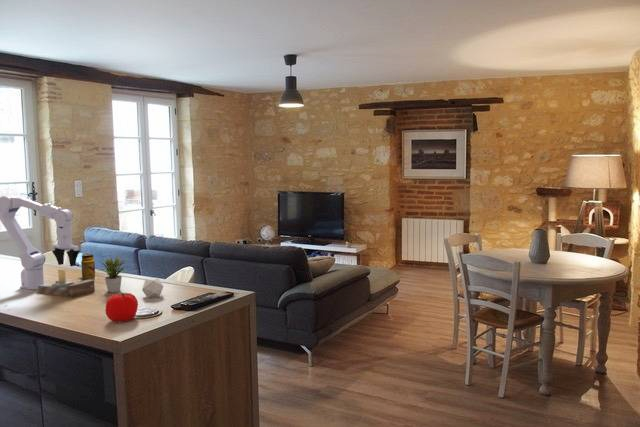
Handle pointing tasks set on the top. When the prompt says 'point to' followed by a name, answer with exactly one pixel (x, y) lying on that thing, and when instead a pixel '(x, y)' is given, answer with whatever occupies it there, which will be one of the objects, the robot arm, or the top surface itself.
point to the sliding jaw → (62, 279)
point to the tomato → (121, 307)
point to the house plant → (113, 274)
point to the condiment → (87, 267)
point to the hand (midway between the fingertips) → (66, 265)
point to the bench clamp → (68, 289)
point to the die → (152, 287)
